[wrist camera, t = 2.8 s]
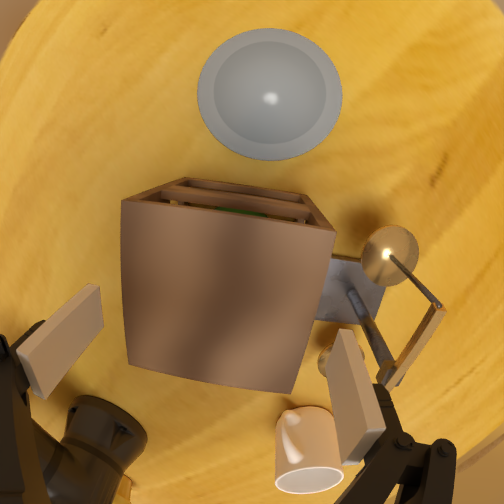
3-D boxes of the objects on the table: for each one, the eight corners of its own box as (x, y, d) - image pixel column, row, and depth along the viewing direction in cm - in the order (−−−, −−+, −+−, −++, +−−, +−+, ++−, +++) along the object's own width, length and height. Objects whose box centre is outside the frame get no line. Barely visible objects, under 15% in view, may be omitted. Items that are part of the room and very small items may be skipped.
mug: (312, 381, 35) (321, 448, 25) (341, 426, 38) (351, 482, 28) (253, 402, 37) (248, 466, 27) (290, 443, 40) (291, 498, 30)
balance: (300, 351, 33) (312, 464, 19) (338, 201, 28) (406, 258, 13) (355, 356, 33) (388, 460, 19) (401, 215, 28) (496, 275, 13)
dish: (191, 151, 27) (187, 151, 26) (212, 27, 22) (209, 23, 21) (328, 171, 27) (331, 172, 25) (346, 46, 22) (349, 42, 21)
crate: (176, 287, 32) (128, 364, 19) (184, 177, 28) (121, 200, 15) (284, 305, 32) (290, 394, 19) (307, 195, 28) (336, 232, 15)
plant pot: (97, 471, 52) (85, 499, 42) (102, 461, 48) (89, 491, 39) (133, 489, 53) (124, 517, 44) (143, 480, 50) (132, 512, 41)
